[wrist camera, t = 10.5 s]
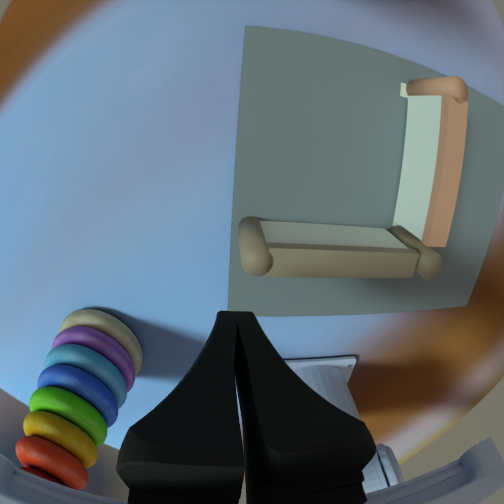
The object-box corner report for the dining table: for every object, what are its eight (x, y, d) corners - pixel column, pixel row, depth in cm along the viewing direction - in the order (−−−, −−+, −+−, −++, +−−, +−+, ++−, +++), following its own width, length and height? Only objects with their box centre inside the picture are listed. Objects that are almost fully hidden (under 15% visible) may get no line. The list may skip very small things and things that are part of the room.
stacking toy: (145, 315, 22) (87, 558, 5) (145, 379, 25) (115, 566, 8) (58, 295, 21) (-48, 487, 4) (71, 361, 24) (11, 525, 7)
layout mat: (464, 304, 25) (466, 306, 25) (227, 312, 23) (227, 316, 22) (510, 111, 17) (514, 112, 16) (245, 27, 14) (246, 24, 14)
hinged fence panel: (408, 221, 20) (445, 247, 16) (391, 219, 20) (427, 246, 15) (424, 83, 16) (468, 81, 11) (406, 77, 15) (449, 72, 11)
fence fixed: (399, 245, 21) (437, 279, 16) (236, 238, 20) (240, 278, 15) (404, 223, 21) (446, 254, 16) (238, 212, 19) (242, 246, 14)
